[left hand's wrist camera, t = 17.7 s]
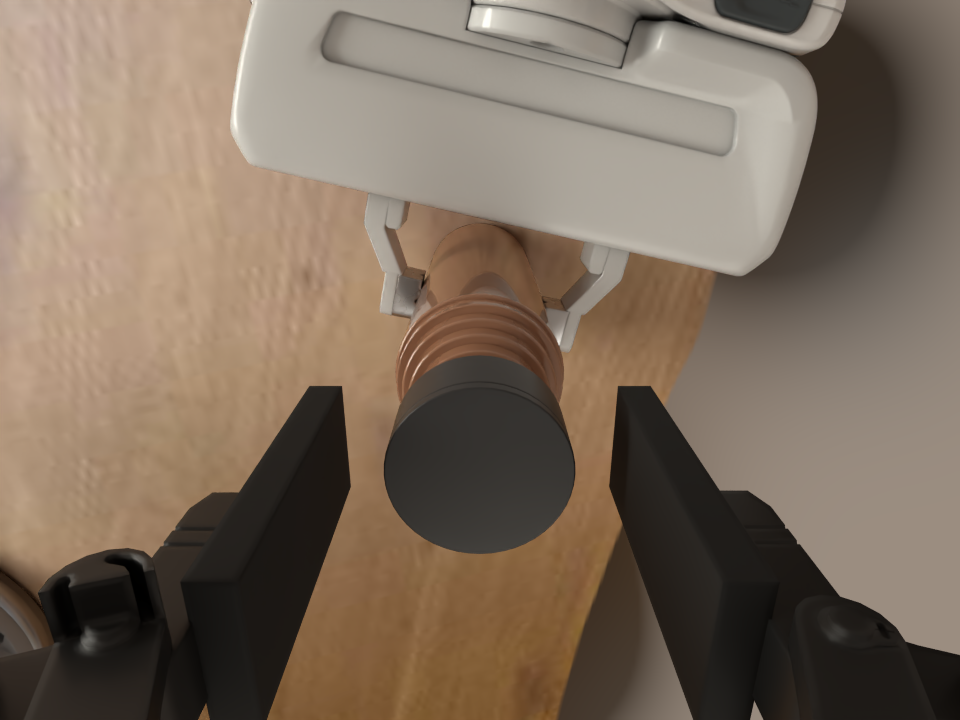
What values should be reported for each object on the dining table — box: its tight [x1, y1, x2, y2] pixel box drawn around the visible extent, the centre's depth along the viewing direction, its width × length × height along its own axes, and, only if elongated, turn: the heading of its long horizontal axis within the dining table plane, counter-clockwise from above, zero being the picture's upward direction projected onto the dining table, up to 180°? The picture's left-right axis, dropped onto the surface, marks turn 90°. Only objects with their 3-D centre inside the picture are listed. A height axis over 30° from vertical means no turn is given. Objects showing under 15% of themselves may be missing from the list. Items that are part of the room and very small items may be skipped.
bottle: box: [395, 223, 564, 404], centre depth 22 cm, size 5×5×19 cm
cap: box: [384, 355, 575, 554], centre depth 14 cm, size 4×4×2 cm
